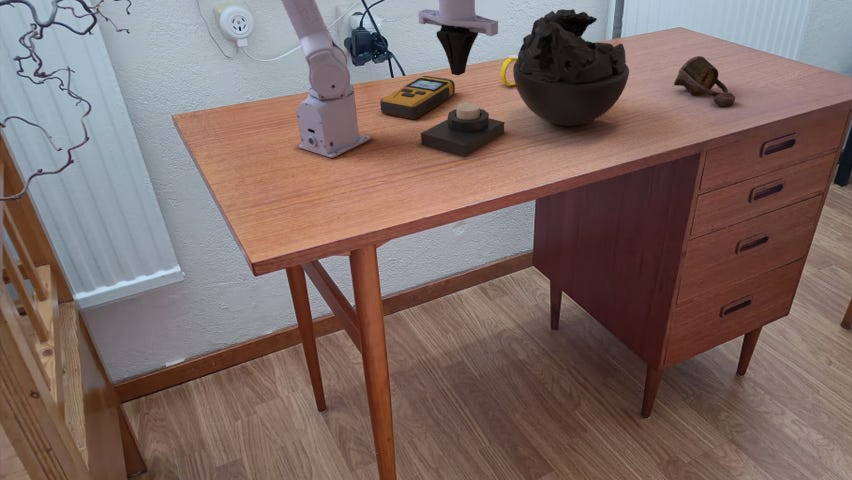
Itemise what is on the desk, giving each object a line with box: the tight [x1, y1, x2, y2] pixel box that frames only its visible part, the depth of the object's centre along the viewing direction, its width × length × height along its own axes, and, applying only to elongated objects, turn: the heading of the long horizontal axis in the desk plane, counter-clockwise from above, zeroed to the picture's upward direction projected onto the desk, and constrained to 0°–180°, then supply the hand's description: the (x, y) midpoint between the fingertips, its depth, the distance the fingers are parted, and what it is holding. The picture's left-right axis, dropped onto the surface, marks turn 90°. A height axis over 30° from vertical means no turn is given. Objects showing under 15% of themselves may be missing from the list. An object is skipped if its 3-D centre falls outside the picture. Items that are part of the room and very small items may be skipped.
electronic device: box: [379, 75, 456, 120], centre depth 126 cm, size 8×16×3 cm, turn 154°
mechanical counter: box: [673, 55, 736, 107], centre depth 128 cm, size 7×13×10 cm
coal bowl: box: [512, 8, 630, 127], centre depth 114 cm, size 20×20×19 cm
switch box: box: [420, 108, 505, 158], centre depth 112 cm, size 12×9×4 cm
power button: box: [455, 102, 481, 120], centre depth 112 cm, size 4×4×2 cm
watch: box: [499, 54, 518, 87], centre depth 135 cm, size 6×3×6 cm, turn 128°
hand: (458, 73), depth 110 cm, fingers closed
